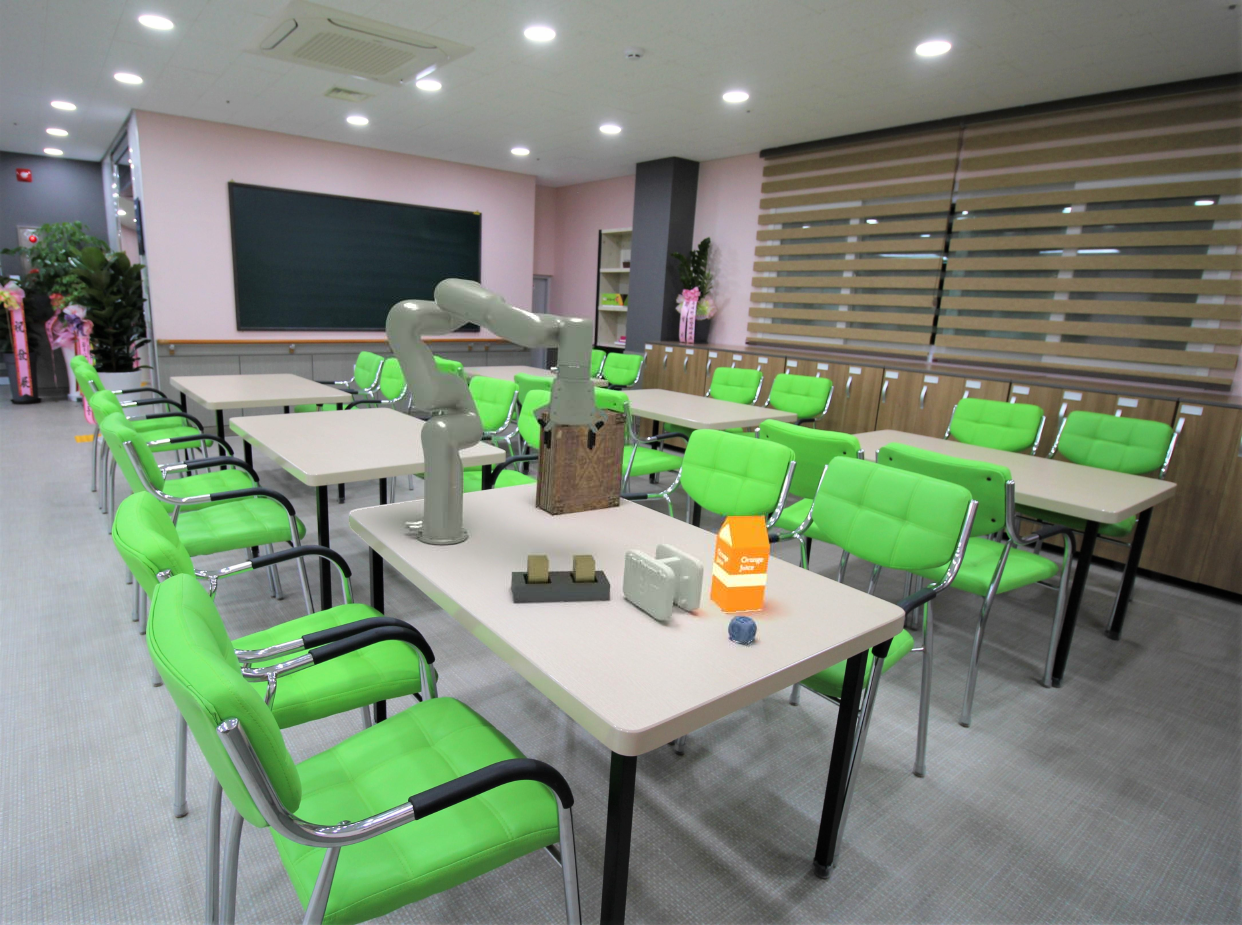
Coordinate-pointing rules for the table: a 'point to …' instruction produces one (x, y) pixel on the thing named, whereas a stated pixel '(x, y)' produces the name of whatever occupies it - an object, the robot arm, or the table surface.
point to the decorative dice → (742, 629)
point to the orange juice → (740, 564)
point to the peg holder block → (555, 584)
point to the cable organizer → (663, 580)
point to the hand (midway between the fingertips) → (569, 448)
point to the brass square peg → (583, 569)
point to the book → (581, 466)
